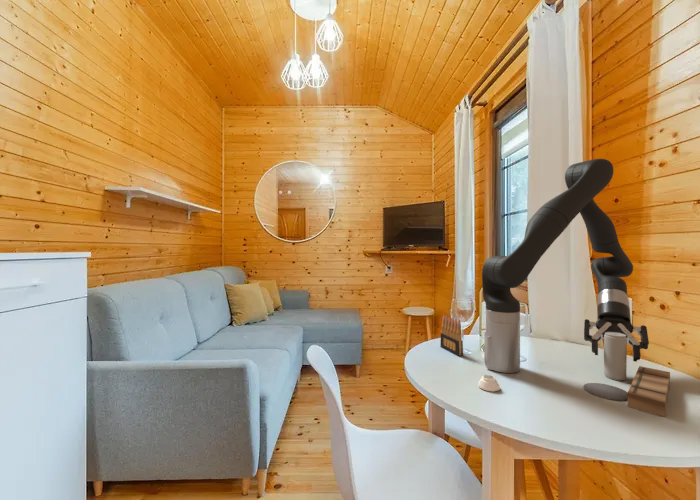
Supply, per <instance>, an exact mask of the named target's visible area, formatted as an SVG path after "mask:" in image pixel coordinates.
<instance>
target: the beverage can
mask: <svg viewBox="0 0 700 500" xmlns="http://www.w3.org/2000/svg"><path fill="white" fill-rule="evenodd" d="M627 347H628V343H627V338H626V335H625V334H621V333H616V332H605V335H604V338H603V374H604V376H605V378H608V379H611V380H613V381H625V380H627V371H628V370H627V367H628V366H627V358H628V356H627V355H628V354H627V353H628V348H627Z"/></svg>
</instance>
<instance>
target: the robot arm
mask: <svg viewBox="0 0 700 500" xmlns="http://www.w3.org/2000/svg"><path fill="white" fill-rule="evenodd" d="M613 176H614V166H613V164H612V162H611V161H610V160H608V159H606V158H593V159H589V160H585V161H582V162H576V163H573V164H571V165H569V166H568V167H567V169H566V170H565V173H564V181H565V185H566V188H567V190H565V191H563V192H561V193H560V194H558V195H556V196H554V197H553V198H551V199H550V200H548V201H547V202H545V203H544V204H543V205H542V206H541V207H539V209H538V210H537V211H536V212H535V213H534V214H533V215H532V216H531V218H530V219H528V222H527V225H526V228H525V232H524V237H523V239H522V242H521V243H520V244H519V245H518V246H517V247H516V248H515V249H514V251H512V252H511V253H510V254H508V255H492V256H490V257H488V258H487V259H485V261H484V263H483V265H482V269H481V282H482V286H481V287H482V298H483V300H484V303H485V332H484V346H483V347H484V348H483V349H484V353H483V354H484V355H483V356H484V357H483V358H484V360H483V361H484V365H485V367H486V369H487V370H492V371H495V372H497V373H498V372H499V373H504V374H516V373H519V372H520V371H521V302H520V301H519V300H518V299H517V298H516V297H514V295H513V293H512V291H511V289H515V288H517V287H519V286H521V285H522V284H523V283H524V282H525V281H526V279H528V277H529V275H530V273H532V271H533V269H534V268H535V266H536V265H537V264H538V263H539V261H540V259H541V257H542V256H543V255H544V254H545V253H546V252H547V250H549V249H550V248H551V246H552V245H553V243H555V241H556V240H557V239H558V237H560V236H561V234H562V233H564V231H565V230H566V229H567V228H568V226H569V225H570V224H571V223H572V221H573V220H574V219H575V218H576V217H577V216H578V215H579V214H580V215H581V218H582V220H583V222H584V225H585V228H586V230H587V235H588V238H589V241H590V245H591V248H592V250H593V251H594V252H596V253H600V254H609V255H611V256H605V257H597V258H595V259H593V260H592V262H590V263H591V264H590V269H591V272H592V274H593V276H594V278H595V281H596V283H597V300H596V307H597V310H596V311H597V316H596V317H597V318H596V319H597V320H596V321H590V319H586V318H585V319H584V324H583V325H584V326H583V340H584V341H586V342H590V343H591V353H593V354H594V355H595V356H599V342H600V341H602V340H604V335H605V332H616V333H621V334H625V335H626V338H627V345H630V347H632V350H631V351H632V361H633V362H635V363H637V362H638V361H640V360H641V355H642V354H641V349H643V350H648V348H649V344H650V342H649V334H648V327H647V326H646V325H643V324H642V325H641V326H633V324H632V321H631V308H630V300H629V297H628V285H627V283H626V280H625V279H622V278H627V277H629V276H631V275H632V274H633V272H634V265H633V263H632V261H631V260H630V258H629V257H628V255H627V254H626V253H625V251H624V249H623V248H622V246H621V243H620V241H619V238H618V233H617V229H616V227H615V225H614V222H613V220H612V219H611V217H610V216H609V215H608V214H607V213H605V212H604V210H602V208H600V206H599V205H598V204H597V203H596V201H595V200H594V198H595V197H596V196H598V195H599V194H600V193H601V192H602V191H603V190H604V189H605V188H606V187H607V186H608V185H609V184H610V182H611V181H612V178H613ZM594 328H596V329H597V331H596V333H594V334H592V335H591V334H590V330H593V329H594ZM633 332H635V333H636V335H638V336H640V341H639V340H637V339H636V338H635V336H634V335H633Z"/></svg>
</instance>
